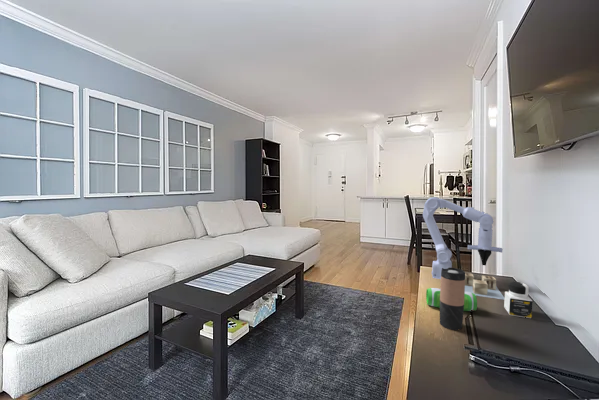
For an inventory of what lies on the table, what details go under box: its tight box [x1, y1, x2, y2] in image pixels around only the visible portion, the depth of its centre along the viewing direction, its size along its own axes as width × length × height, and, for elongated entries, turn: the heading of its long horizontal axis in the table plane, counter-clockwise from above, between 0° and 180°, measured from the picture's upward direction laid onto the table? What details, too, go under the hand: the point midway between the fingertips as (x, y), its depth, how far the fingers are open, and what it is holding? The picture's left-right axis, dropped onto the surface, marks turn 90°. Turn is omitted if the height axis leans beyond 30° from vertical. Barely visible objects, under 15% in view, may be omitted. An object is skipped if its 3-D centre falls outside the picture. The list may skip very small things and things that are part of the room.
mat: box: [465, 286, 505, 300], centre depth 135 cm, size 16×20×1 cm
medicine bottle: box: [503, 281, 533, 319], centre depth 111 cm, size 7×7×12 cm
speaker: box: [425, 287, 478, 312], centre depth 115 cm, size 18×7×8 cm, turn 73°
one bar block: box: [465, 272, 475, 286], centre depth 142 cm, size 5×5×5 cm
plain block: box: [473, 278, 488, 295], centre depth 131 cm, size 5×5×5 cm
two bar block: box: [481, 275, 497, 290], centre depth 137 cm, size 5×5×5 cm
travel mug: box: [439, 267, 466, 331], centre depth 101 cm, size 8×8×20 cm
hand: (483, 264), depth 142 cm, fingers closed
